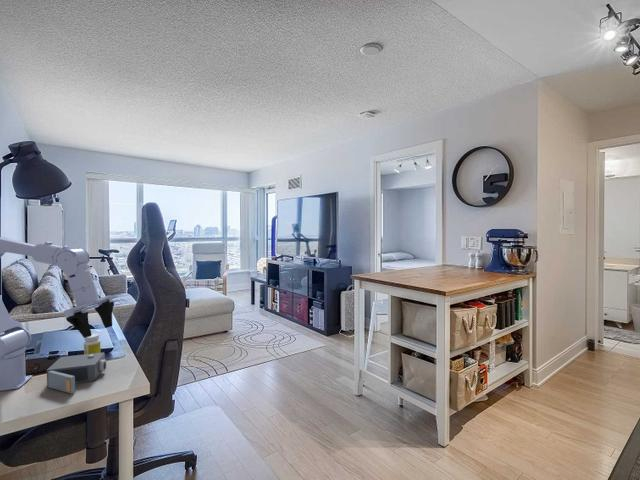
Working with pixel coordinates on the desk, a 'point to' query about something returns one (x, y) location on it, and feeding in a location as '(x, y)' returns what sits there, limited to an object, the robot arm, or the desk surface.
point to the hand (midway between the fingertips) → (98, 331)
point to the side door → (61, 381)
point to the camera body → (80, 366)
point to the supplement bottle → (92, 344)
